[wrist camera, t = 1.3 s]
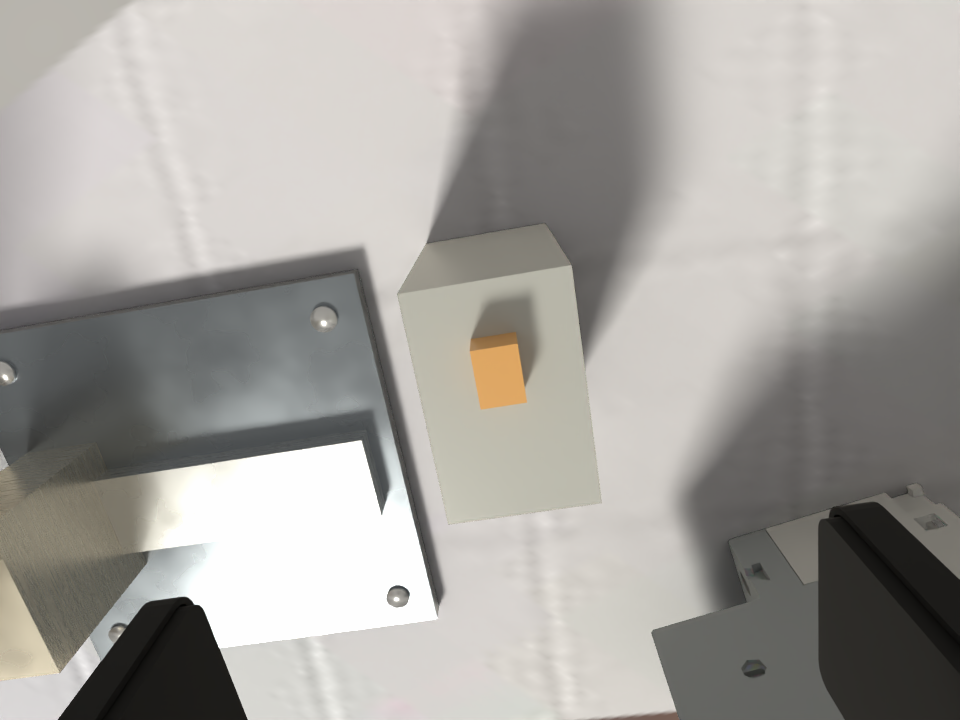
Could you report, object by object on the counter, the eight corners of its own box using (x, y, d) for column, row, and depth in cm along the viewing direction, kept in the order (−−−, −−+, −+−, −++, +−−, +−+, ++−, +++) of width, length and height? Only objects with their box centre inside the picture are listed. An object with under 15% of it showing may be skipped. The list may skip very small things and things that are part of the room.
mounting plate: (357, 268, 24) (310, 317, 18) (438, 606, 29) (424, 738, 23) (-34, 336, 25) (-211, 404, 19) (111, 650, 31) (11, 787, 24)
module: (545, 223, 24) (576, 273, 15) (568, 395, 26) (608, 523, 17) (426, 243, 24) (391, 304, 15) (460, 412, 26) (446, 545, 18)
